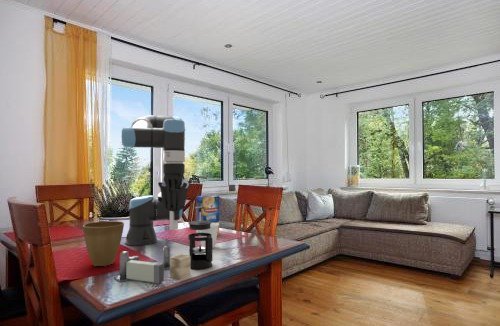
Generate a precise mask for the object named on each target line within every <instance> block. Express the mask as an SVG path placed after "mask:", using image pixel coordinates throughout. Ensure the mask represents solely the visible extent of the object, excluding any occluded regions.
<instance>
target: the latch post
mask: <svg viewBox="0 0 500 326" xmlns="http://www.w3.org/2000/svg"><path fill="white" fill-rule="evenodd" d="M162 256H163V257H162V258H163V259H162V260H163V262H162V263H164V271H165V270H170V257H171V246H170V245H164V246H163V255H162Z"/></svg>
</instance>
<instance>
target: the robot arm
mask: <svg viewBox="0 0 500 326" xmlns="http://www.w3.org/2000/svg"><path fill="white" fill-rule="evenodd" d="M185 137H186V126H185V121H184V120H183V119H182V117H180V116H173V115H172V116H171V115H150V114H149V115H146V116H141V117H138V118H136V119H135V120H134V121H132V123H131V126H128V127H127V126H126V127H123V128H122V129H121V145H122V146H123V147H124V148H131V149H133V148H151V149H153V148H154V149H155V148H156V149H160V150H161V151H160V153H161V154H160V181H159V182H158V183H157V185H158V186H159V189H160V192H159V193H158V194H157V197H154V195H144V196H138V197H134V198H132V199H131V198H130V200H129V207H128V210H129V221H128V222H129V227H128V232H127V235H126V236H125V244H126V245H129V246H146V245H152V244H154V243H157V242H158V235H157V233H156V230H155V227H154V222H157V221H158V222H160V221H162V222H163V221H169V230H171V231H174V230H178V229H179V220H180V219H181V218H182V216H183V213H184V212H183V210H184V209H185V206H186V200H187V197H188V191H189V188H190V186H191V182H188V181H186V180H185V171H186V169H185V168H186V167H185V165H186V164H185V162H186V157H185V156H186V151H185V144H186V143H185V142H186V140H185V139H186V138H185Z"/></svg>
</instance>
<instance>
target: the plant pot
mask: <svg viewBox="0 0 500 326" xmlns="http://www.w3.org/2000/svg"><path fill="white" fill-rule="evenodd" d="M124 226H125V222H123V221H117V220H115V221H114V220H112V221H111V220H110V221H109V220H108V221H107V220H105V221H94V222H88V223H85V224H83V225H82V231H83V237H84V242H85V246H86V250H87V253H88V256H89V259H90V262H91V263H92V266H93V265H94V266H93V267H95V266H104V267H108V266H107V265H109V266H111V265H110V264H112V265H113V264H114V263H115V260H116V257H117V255H118V252H119V249H120V247H121V246H120V245H121V243H122V238H123V233H124Z"/></svg>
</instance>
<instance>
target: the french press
mask: <svg viewBox="0 0 500 326" xmlns="http://www.w3.org/2000/svg"><path fill="white" fill-rule="evenodd" d="M203 208H205V207H194V209H199V212H200V221H196V220H193V221H189V222H188V225H189V229H190V230H192V231H196V230H200V233H196V232H194V233H190V234H188V241H189V246H188V247H189V252H188V254H189V256H191V270H194V271H198V270H199V271H200V270H201V271H202V270H207V269H210V268H212V266H213V263H212V262H213V248H212V234H210V233H201V230H206V229H210V224H211V223H212V222H210V221H201V209H203ZM201 236H207V237H201ZM201 241H205V247H202V242H201ZM196 242H199V246H196Z"/></svg>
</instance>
